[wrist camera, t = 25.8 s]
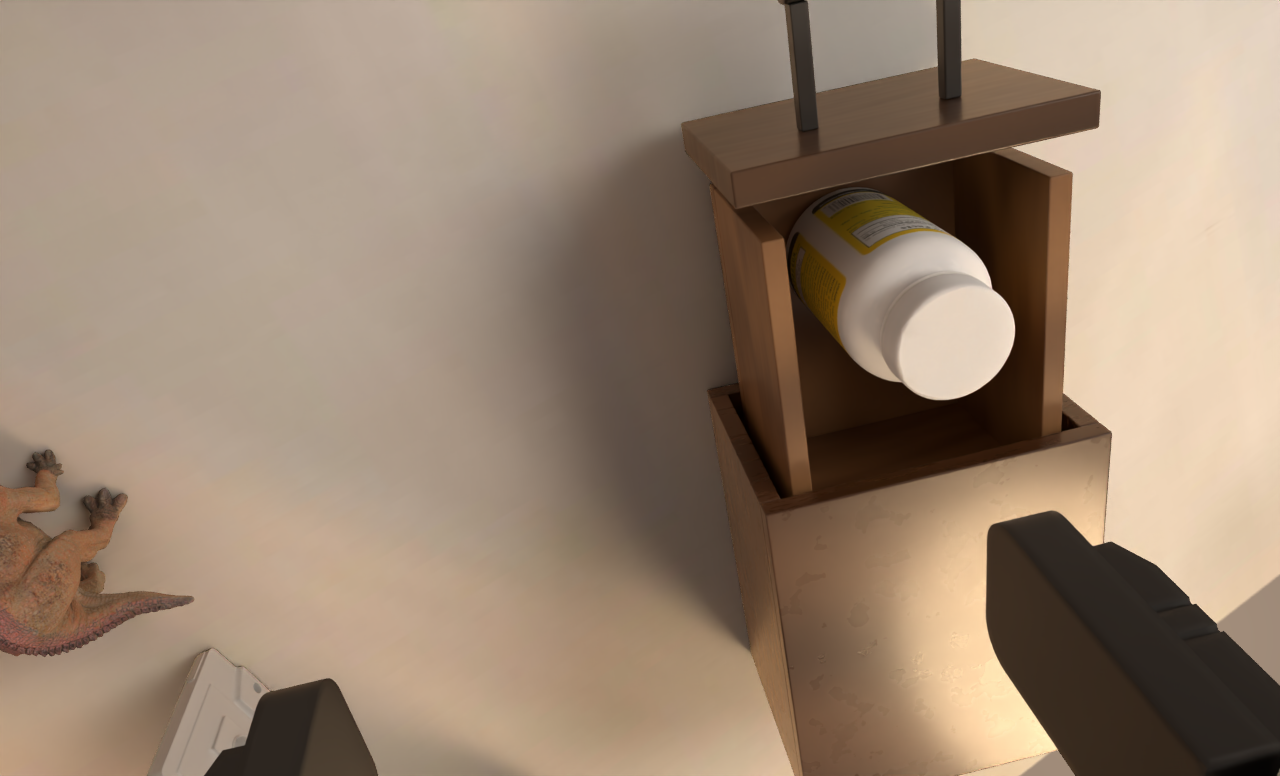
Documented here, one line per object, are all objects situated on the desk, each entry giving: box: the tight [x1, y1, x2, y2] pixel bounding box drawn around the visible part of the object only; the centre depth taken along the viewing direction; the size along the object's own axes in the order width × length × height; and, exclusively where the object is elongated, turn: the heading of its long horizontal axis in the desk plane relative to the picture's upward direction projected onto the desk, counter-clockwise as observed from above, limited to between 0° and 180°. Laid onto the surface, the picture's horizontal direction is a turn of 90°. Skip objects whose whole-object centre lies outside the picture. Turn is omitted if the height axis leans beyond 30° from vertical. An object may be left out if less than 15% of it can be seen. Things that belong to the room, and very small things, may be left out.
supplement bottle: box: [786, 187, 1015, 400], centre depth 32 cm, size 5×5×10 cm
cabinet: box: [707, 383, 1112, 776], centre depth 41 cm, size 17×13×10 cm
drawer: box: [681, 0, 1101, 499], centre depth 34 cm, size 21×12×8 cm, turn 11°
